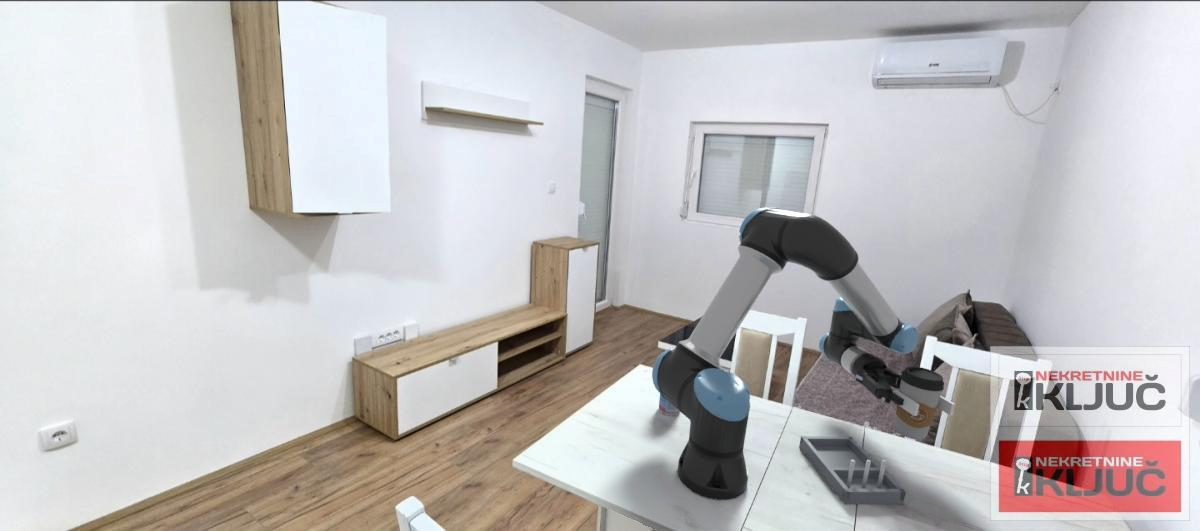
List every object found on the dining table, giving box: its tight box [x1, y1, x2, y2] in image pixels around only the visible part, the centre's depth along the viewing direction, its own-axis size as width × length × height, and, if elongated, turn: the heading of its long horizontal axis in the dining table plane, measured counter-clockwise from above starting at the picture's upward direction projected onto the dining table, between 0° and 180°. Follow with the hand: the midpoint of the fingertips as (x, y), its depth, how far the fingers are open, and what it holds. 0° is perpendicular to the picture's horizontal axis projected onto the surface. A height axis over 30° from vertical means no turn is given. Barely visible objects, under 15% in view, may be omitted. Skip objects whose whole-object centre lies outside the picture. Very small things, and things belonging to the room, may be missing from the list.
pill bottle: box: [658, 393, 681, 416], centre depth 131 cm, size 6×6×11 cm
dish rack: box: [798, 435, 907, 505], centre depth 108 cm, size 20×13×8 cm, turn 4°
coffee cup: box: [894, 366, 945, 441], centre depth 109 cm, size 8×8×15 cm
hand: (934, 409), depth 104 cm, fingers closed on coffee cup, 8 cm apart
